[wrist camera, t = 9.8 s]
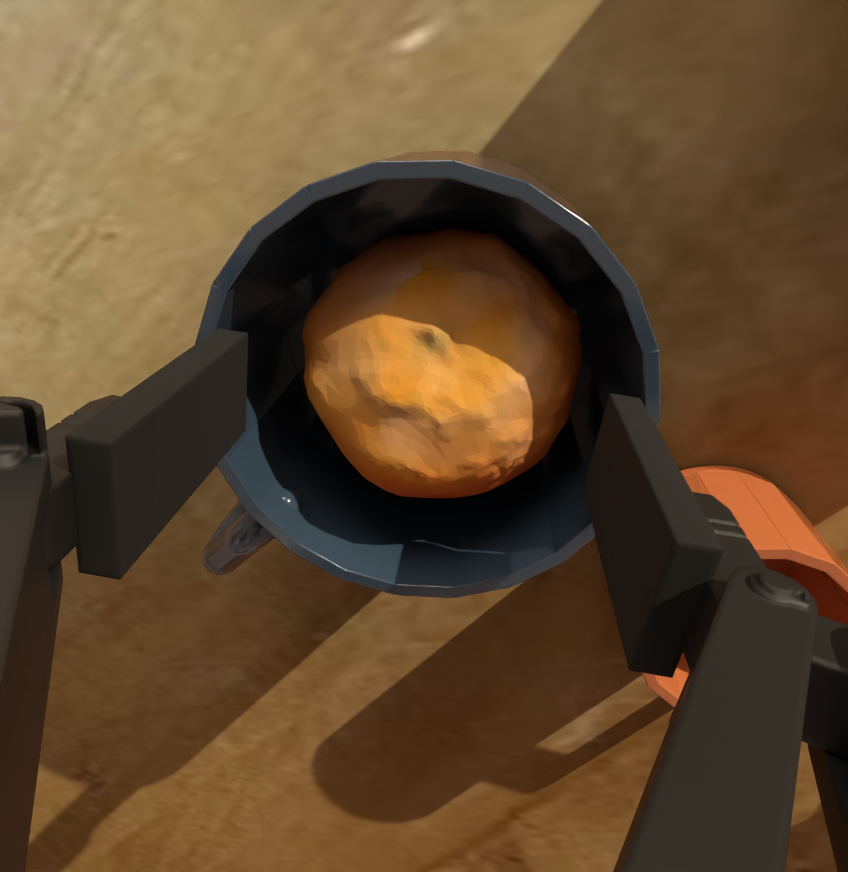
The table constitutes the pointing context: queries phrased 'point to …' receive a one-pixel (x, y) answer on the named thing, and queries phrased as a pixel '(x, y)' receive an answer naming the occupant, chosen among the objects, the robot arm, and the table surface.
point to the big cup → (313, 444)
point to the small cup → (768, 547)
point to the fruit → (441, 363)
